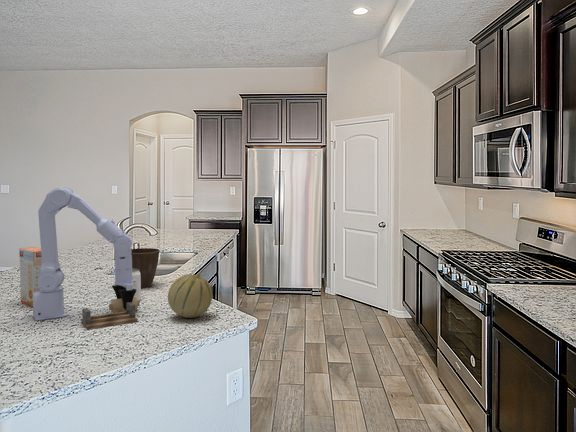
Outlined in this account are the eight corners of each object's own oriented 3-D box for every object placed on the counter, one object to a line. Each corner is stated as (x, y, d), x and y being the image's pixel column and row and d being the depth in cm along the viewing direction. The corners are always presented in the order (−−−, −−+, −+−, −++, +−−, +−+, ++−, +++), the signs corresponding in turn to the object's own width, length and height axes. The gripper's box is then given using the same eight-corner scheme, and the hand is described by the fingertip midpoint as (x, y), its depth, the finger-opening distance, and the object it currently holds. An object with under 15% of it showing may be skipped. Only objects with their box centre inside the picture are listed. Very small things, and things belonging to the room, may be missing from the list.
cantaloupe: (165, 313, 168) (164, 271, 167) (206, 309, 174) (206, 268, 173) (172, 325, 154) (171, 279, 153) (217, 320, 160) (216, 275, 159)
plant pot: (160, 289, 207) (160, 252, 206) (123, 291, 203) (123, 253, 202) (159, 282, 221) (159, 247, 220) (125, 284, 217) (124, 248, 216)
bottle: (111, 315, 166) (111, 301, 165) (108, 312, 170) (107, 298, 169) (140, 311, 171) (140, 297, 171) (136, 308, 175) (136, 294, 175)
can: (134, 297, 191) (134, 267, 191) (144, 300, 187) (143, 269, 186) (120, 300, 186) (119, 270, 186) (129, 303, 182) (128, 272, 181)
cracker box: (51, 305, 179) (49, 249, 177) (33, 308, 174) (31, 251, 173) (37, 299, 188) (35, 246, 187) (20, 302, 184) (18, 247, 182)
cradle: (87, 329, 150) (87, 313, 149) (81, 321, 158) (80, 306, 158) (137, 321, 158) (137, 306, 158) (129, 314, 166) (128, 300, 166)
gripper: (141, 270, 166) (142, 309, 167) (129, 264, 178) (130, 301, 179) (120, 272, 162) (121, 312, 163) (109, 266, 174) (110, 303, 175)
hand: (124, 306), depth 170 cm, fingers open, 7 cm apart
